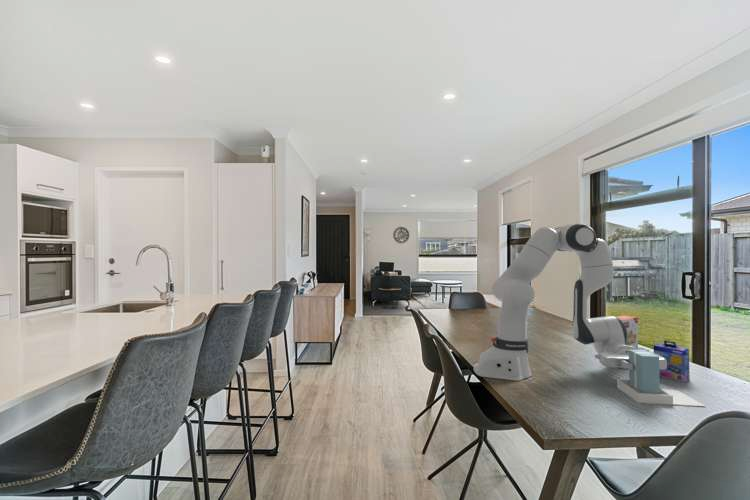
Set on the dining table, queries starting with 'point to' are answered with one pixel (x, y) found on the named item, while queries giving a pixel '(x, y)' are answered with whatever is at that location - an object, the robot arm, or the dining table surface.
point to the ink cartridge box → (674, 361)
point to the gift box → (644, 371)
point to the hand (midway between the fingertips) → (644, 367)
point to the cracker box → (630, 329)
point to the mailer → (657, 396)
